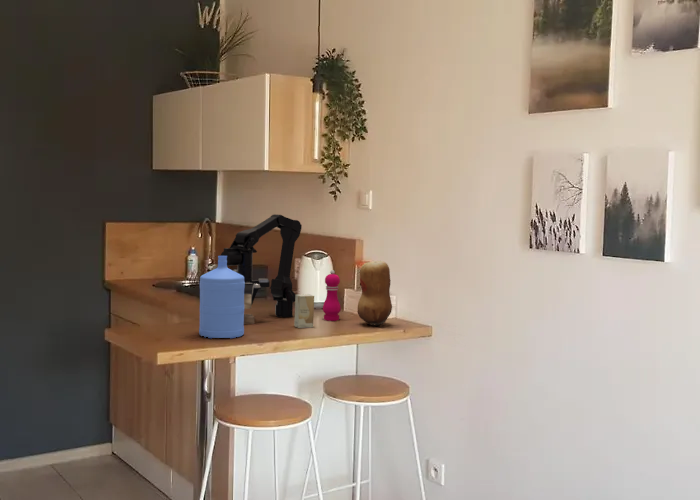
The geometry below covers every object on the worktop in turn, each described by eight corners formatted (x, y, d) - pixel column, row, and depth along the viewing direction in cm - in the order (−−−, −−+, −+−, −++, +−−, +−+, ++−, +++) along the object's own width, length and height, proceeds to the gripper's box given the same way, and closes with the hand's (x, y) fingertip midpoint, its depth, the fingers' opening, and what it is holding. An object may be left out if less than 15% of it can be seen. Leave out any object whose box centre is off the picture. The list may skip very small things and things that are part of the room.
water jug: (251, 337, 275) (252, 257, 272) (209, 340, 266) (210, 258, 264) (232, 329, 288) (233, 253, 285) (192, 333, 279) (192, 254, 277)
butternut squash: (352, 322, 309) (353, 259, 307) (383, 321, 314) (385, 259, 312) (365, 328, 296) (367, 262, 294) (397, 327, 301) (399, 262, 299)
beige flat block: (251, 321, 308) (251, 314, 308) (254, 324, 302) (254, 316, 301) (233, 322, 306) (234, 314, 306) (236, 325, 300) (236, 317, 299)
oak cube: (250, 306, 306) (250, 293, 306) (251, 308, 302) (251, 295, 301) (237, 306, 306) (237, 293, 305) (238, 308, 301) (238, 295, 300)
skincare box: (298, 328, 294) (299, 296, 293) (293, 326, 298) (294, 294, 297) (314, 327, 297) (314, 295, 296) (309, 325, 301) (310, 293, 300)
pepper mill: (344, 319, 315) (345, 270, 314) (331, 321, 310) (332, 271, 308) (331, 317, 320) (332, 268, 319) (318, 319, 315) (319, 269, 313)
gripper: (267, 262, 312) (267, 301, 313) (220, 262, 309) (219, 302, 310) (269, 265, 301) (269, 306, 302) (220, 265, 298) (220, 306, 299)
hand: (244, 304), depth 304 cm, fingers closed on oak cube, 5 cm apart
